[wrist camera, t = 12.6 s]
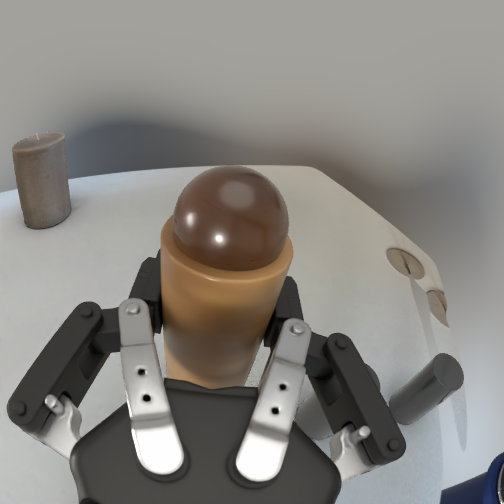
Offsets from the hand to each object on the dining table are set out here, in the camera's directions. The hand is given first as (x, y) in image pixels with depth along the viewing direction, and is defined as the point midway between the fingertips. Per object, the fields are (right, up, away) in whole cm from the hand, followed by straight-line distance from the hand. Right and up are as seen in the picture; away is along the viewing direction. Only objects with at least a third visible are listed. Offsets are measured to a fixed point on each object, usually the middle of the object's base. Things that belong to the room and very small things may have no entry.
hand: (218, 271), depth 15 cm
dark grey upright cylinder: (+19, -16, +10) cm, 27 cm away
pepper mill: (-1, -7, +2) cm, 7 cm away
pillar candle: (-34, +7, +25) cm, 43 cm away
